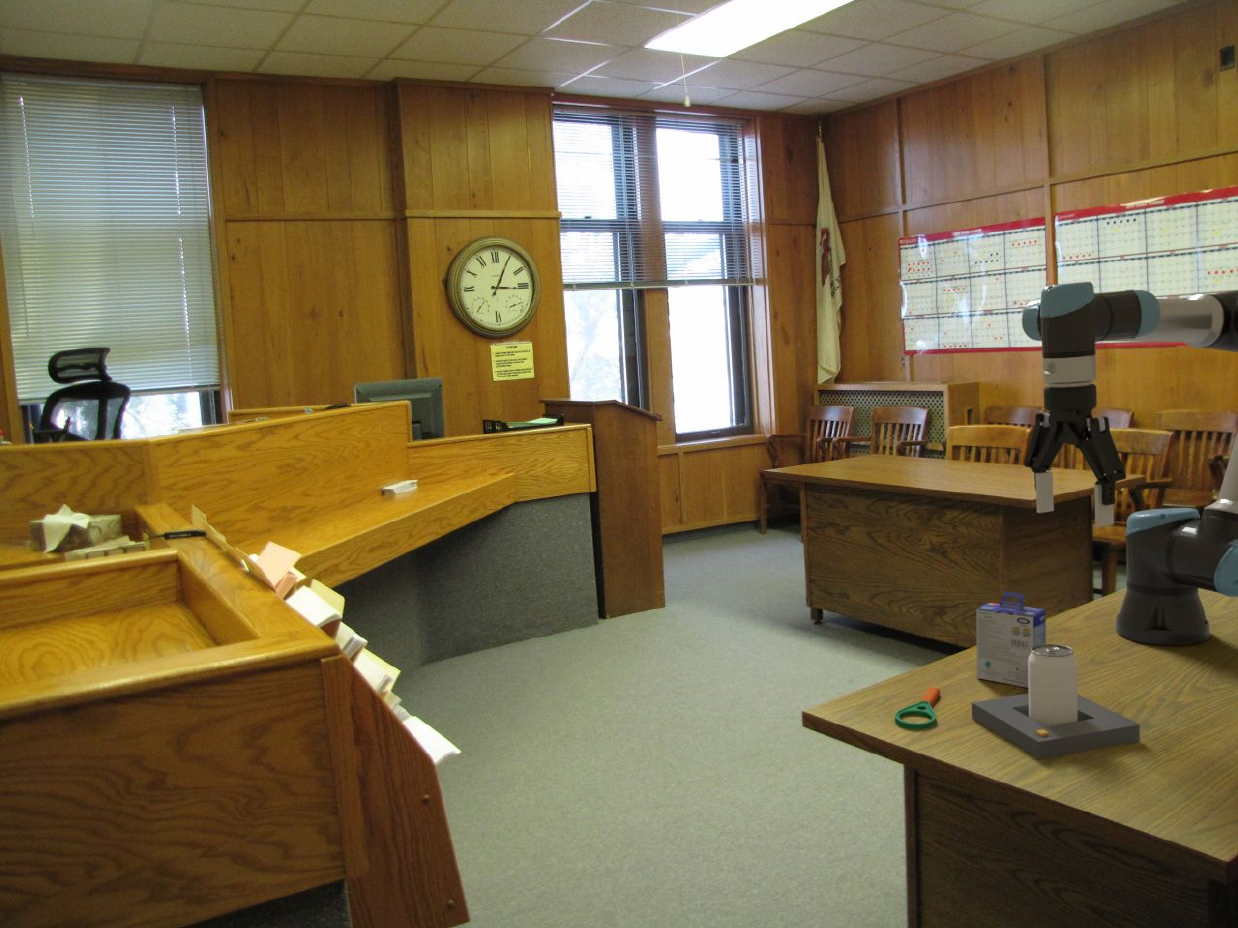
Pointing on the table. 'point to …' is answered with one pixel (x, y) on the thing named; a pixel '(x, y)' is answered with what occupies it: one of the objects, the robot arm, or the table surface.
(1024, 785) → the table surface
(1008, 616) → the ink cartridge box
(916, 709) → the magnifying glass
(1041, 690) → the can
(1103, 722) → the socket block
